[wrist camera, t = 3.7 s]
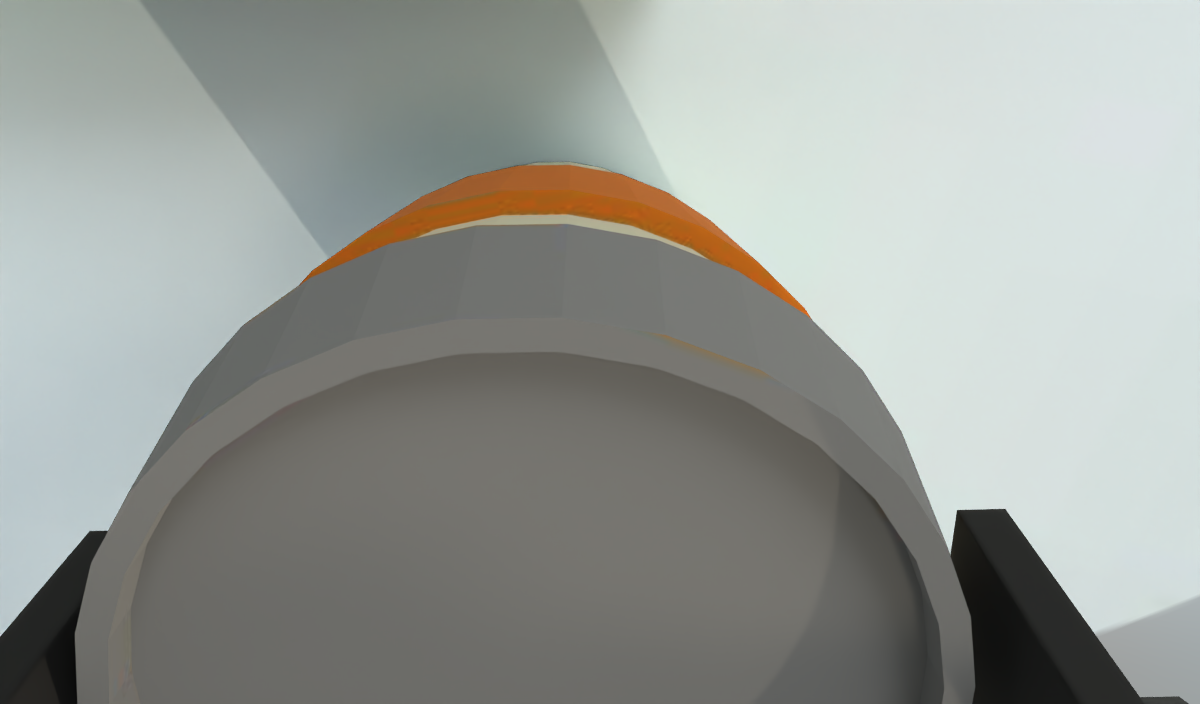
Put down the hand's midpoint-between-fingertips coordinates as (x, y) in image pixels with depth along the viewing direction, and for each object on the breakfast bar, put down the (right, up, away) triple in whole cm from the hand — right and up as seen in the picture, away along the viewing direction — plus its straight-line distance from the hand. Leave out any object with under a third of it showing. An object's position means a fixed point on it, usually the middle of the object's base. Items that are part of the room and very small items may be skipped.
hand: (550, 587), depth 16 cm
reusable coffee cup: (0, +5, +11) cm, 12 cm away
